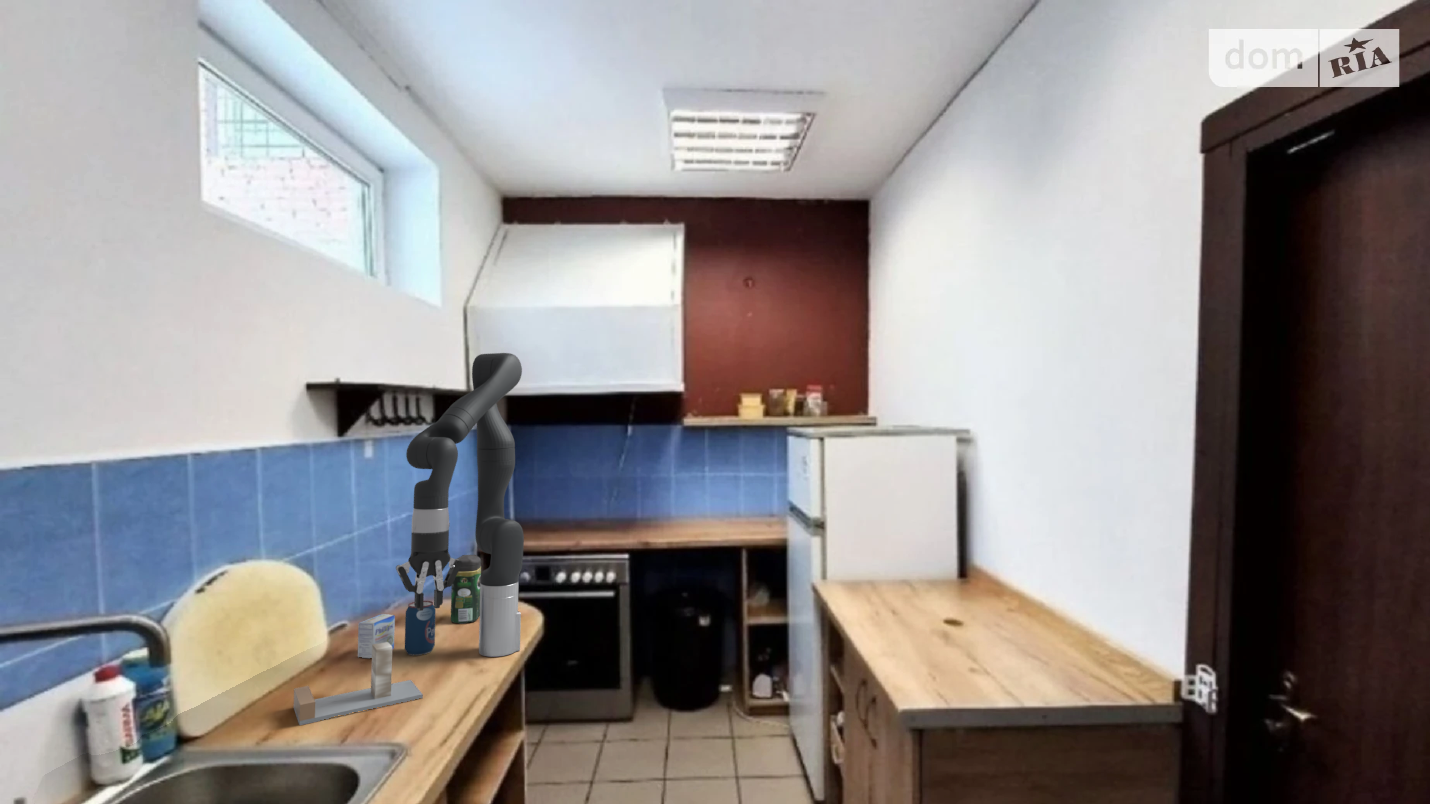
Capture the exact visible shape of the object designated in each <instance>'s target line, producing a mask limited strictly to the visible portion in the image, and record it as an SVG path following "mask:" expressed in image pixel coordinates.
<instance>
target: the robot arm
mask: <svg viewBox="0 0 1430 804" xmlns="http://www.w3.org/2000/svg"><path fill="white" fill-rule="evenodd" d="M522 374H523V368H522V363H521V361H520V359H519V358H518V356H516V355H515V354H513V353H510V352H498V353H497V352H494V353H482V354H481V353H480V354H478V355H477V356H476V357H475V358H474V360H473V363H472V367H471V378H472V379H471V380H472V389H473V390H471V391H470V392H468V393H467V394H465V395H463V396H461V397H460V398H458V399H457V400H455V402H453V403H452V404H451V405H450V406H449V408H447V409H446V411H445V412H444V413H443V414H442V415H441V416H440V418H439V419H438V420H437V421H436V422H434V423H433V424H431V425H430V426H428V427H426V428H425V429H424V430H421V431H420V433H418V434H416V436H414V438H412V440H411V441H410V442H409V445H407V449H406V454H405V456H406V461H407V463H408V464H409V465H410V466H411V467H413V468H415V469H419V470H431V473H430V475H429V478H428V479H425V480H420V481H417V482H416V483H415V485H414V488H413V489H414V490H413V506H412V507H413V511H412V515H411V535H410V536H411V539H410V540H411V541H410V555H409V558H408V561H406V562H404V563H402V564H398V565H396V566H395V571H396V572H397V573H398V576H399V578H400V581H401V582H402V584H403V587H404V588H405V590H406V591H407V592H408V593H414V601H413V602H414V605H415V607H416V608H417V609H418V610H419V611H423V601H425V600H424V599H425V598H424V595H425V594H424V592H423V591H424V585H425V583H426V579H427V578H428V577H430V576H432V578H433V581H434V588H435V589H433V605H434V607H435V609H441V607H440V606H442V605H443V603H444V601H443V600H444V590H445V589H447V588H449V587H452V584H453V582H454V580H455V577H456V575H457V573H458V571H459V569H460V567H461V564H462V561H460V560H458V559H457V558H454V557H451V555H450V553H449V544H450V543H449V541H450V539H449V536H450V515H449V514H450V513H449V491H450V490H449V489H450V486H451V484H452V483H451V482H452V478H453V476H454V473H455V472H454V471H455V469H456V466H457V462H458V459H459V458H458V457H459V450H458V446H457V444H460V443H461V442H463V441H464V440H465V438H466V437H467V436H468V435H469V434H470V432H471V431H472V429H473V428H474V427H475V426H476V465H477V510H476V519H475V520H476V523H475V530H474V531H475V542H476V545H477V547H478V549H479V550H480V551H481V552H483V553H484V554H485V553H486V554H490V563H489V567H488V568H486V569H484V570H483V571H481V579H480V616H479V621H478V623H479V624H478V625H479V627H478V629H479V630H478V633H479V634H478V635H479V636H478V653H479V655H481V656H484V657H492V658H493V657H503V656H508V655H511V654H513V653H514V654H515V652H518V651H520V650H521V621H522V619H521V618H522V614H521V612H520V611H519V579H520V578H519V577H520V576H519V575H520V573H521V571H522V568H523V562H524V561H523V559H524V558H523V557H524V547H525V545H524V543H525V537H524V529H523V527H522V526H521V524H520V523H519V522H518V521H516V520H514V519H509V518H505V495H506V491H507V489H508V486H509V484H510V482H511V479H512V477H513V474H514V470H515V467H516V448H515V447H516V444H515V439H514V435H513V433H512V432H511V430H510V428H509V426H508V425H507V423H506V421H505V420H504V419H503V417H502V415H501V413H500V411H499V408H498V404H497V403H498V402H500V401H501V399H502V398H504V397H505V396H506V395H507V394H508V393H509V392H511V391H512V390H513V389H514V388H515V387H516V386H517V385H518V384H519V382H520V380H521V378H522ZM447 565H448V567H449V569H448V571H447V574H446V576H445V577H444V576H443V571H444V569H445V568H446V567H447ZM410 567H411V569H412V570H413V571H414V572H415V579H414V580H415V581H414V585H413V583H412V581H411V579H410V576H409V575H408V573H410Z"/></svg>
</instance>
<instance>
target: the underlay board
mask: <svg viewBox="0 0 1430 804" xmlns="http://www.w3.org/2000/svg"><path fill="white" fill-rule="evenodd" d="M423 695H424V694H423V692H422V691H420V689H419V688H418V687H417V685H416V684H415V683H414V682H413V680H412V679H407V680H402V681H398V682H393V683H391V696H387V697H382V698H378V699H375V698H374V697H373V695H372V694H371V687H369V688H363V689H360V690H354V691H349V692H344V693H340V694H333V695H330V696H324V697H320V698H315V697H314V695H313V693H312V690H311V688H310V686H309V685H305V686H299V687H295V688H293V710H294V712H295V716H296V719H297V723H298V725H299V726H303V725H308V724H311V723H317V722H321V721H320V720H322V721H325V720H324V719H326V720H330V719H329V718H331V717H334V716H338V715H344V716H347V715H346V714H349V713H352V712H358V711H363V710H367V709H372V710H374V709H373V708H376V709H378V708H377V707H381V708H383V707H382V706H385V707H387V706H386V705H390V706H394V705H397V704H396V703H399V704H402V703H401V702H403V703H407V701H408V702H411V701H410V700H412V701H415V699H417V700H420V699H419V698H421V699H423V698H424V696H423ZM393 704H394V705H393ZM367 711H368V710H367ZM363 712H364V711H363ZM358 713H359V712H358ZM349 715H350V714H349ZM331 719H332V718H331Z"/></svg>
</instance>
